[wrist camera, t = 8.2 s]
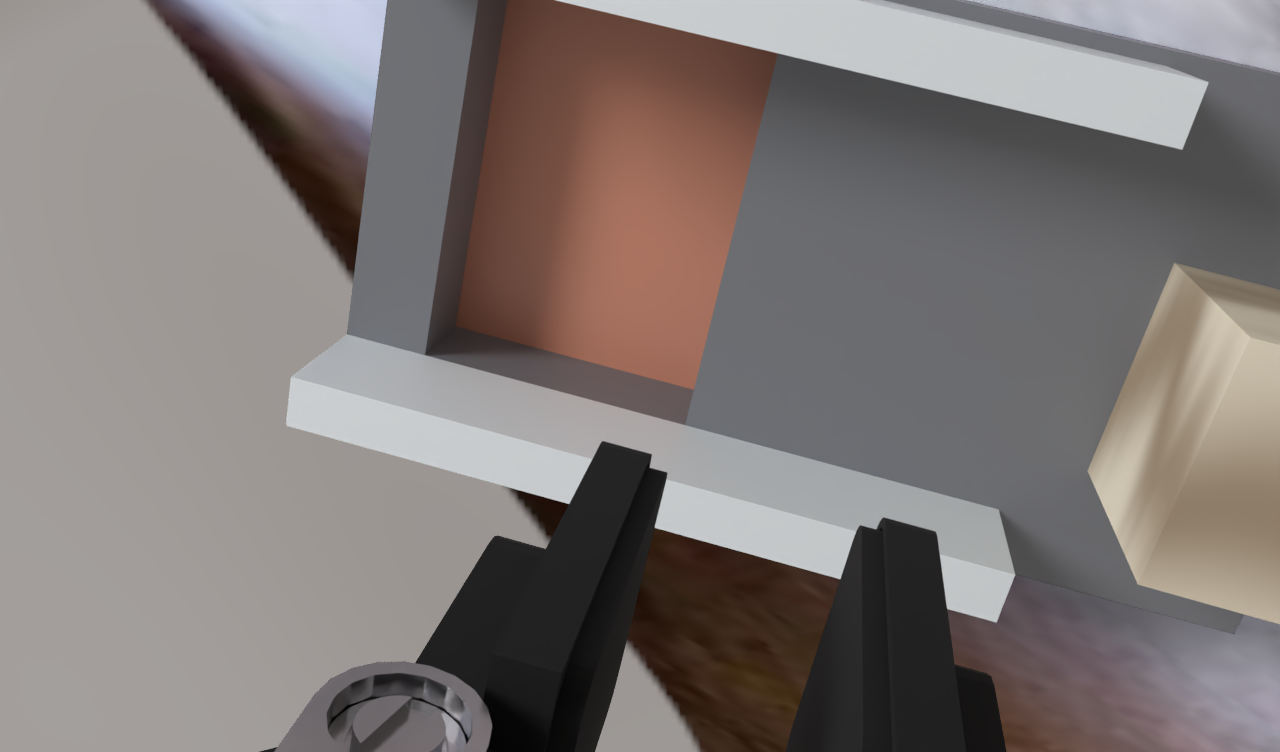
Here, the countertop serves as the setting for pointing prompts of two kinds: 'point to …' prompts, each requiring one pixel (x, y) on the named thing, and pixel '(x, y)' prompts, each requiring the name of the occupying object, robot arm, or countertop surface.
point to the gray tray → (792, 264)
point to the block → (1201, 446)
